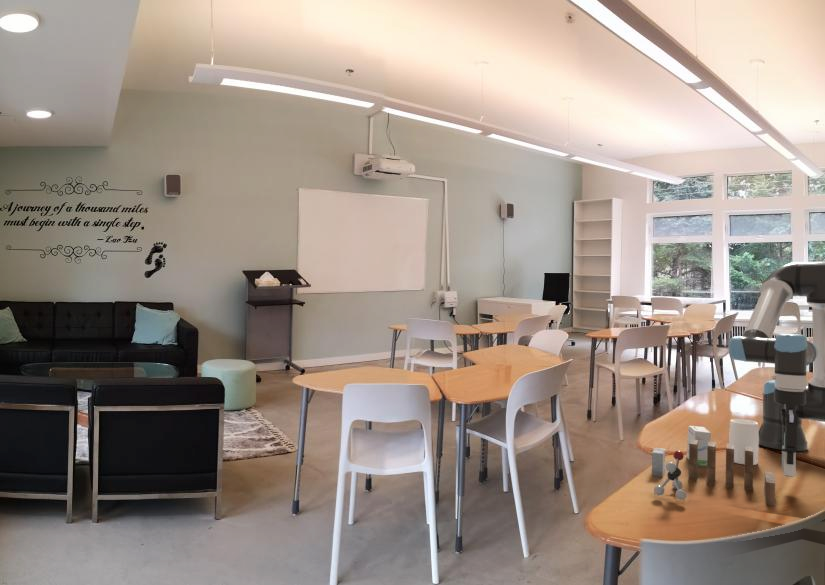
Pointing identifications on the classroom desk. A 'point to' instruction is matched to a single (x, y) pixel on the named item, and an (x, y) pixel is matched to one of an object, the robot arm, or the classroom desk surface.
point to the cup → (744, 439)
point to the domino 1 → (693, 460)
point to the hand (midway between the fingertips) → (788, 472)
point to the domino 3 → (730, 465)
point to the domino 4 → (748, 468)
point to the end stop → (658, 462)
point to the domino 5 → (769, 488)
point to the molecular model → (673, 477)
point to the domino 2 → (711, 463)
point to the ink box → (699, 442)
